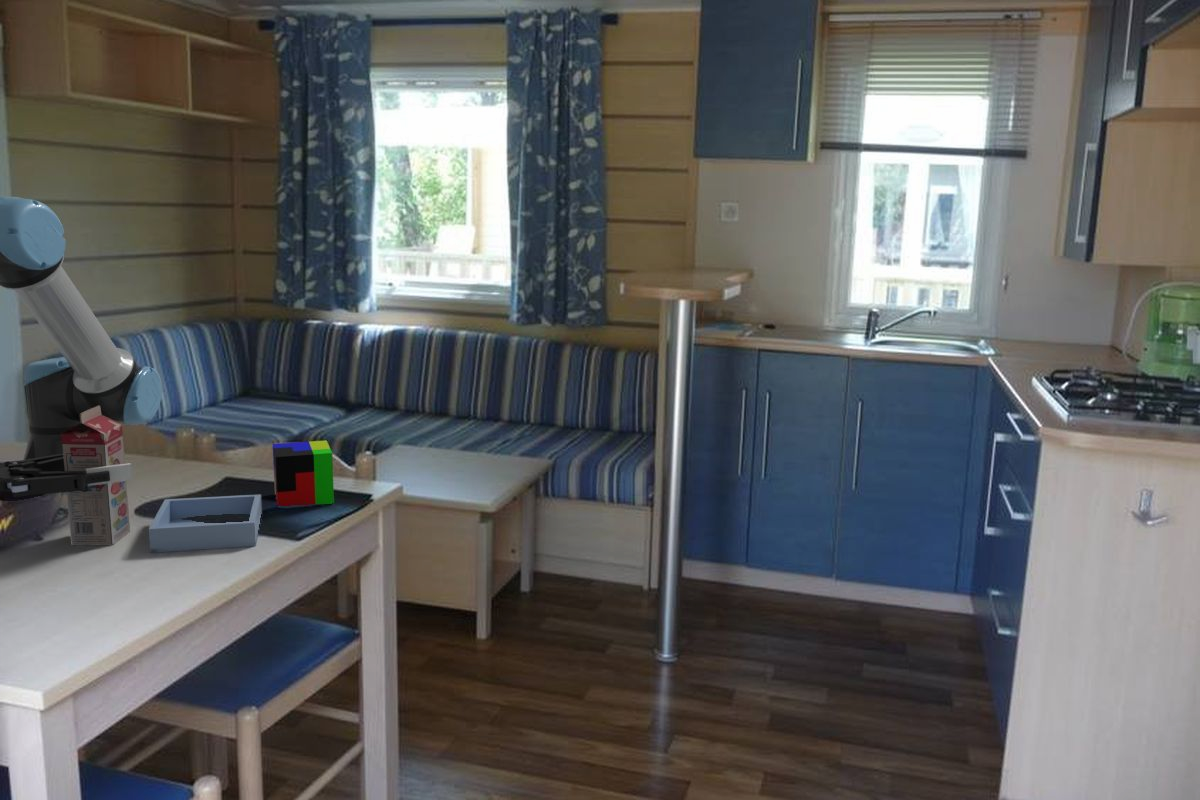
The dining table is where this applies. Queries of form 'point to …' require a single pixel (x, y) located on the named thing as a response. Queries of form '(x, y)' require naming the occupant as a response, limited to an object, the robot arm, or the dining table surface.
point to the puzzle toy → (303, 473)
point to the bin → (205, 524)
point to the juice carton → (104, 505)
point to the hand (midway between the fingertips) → (125, 464)
